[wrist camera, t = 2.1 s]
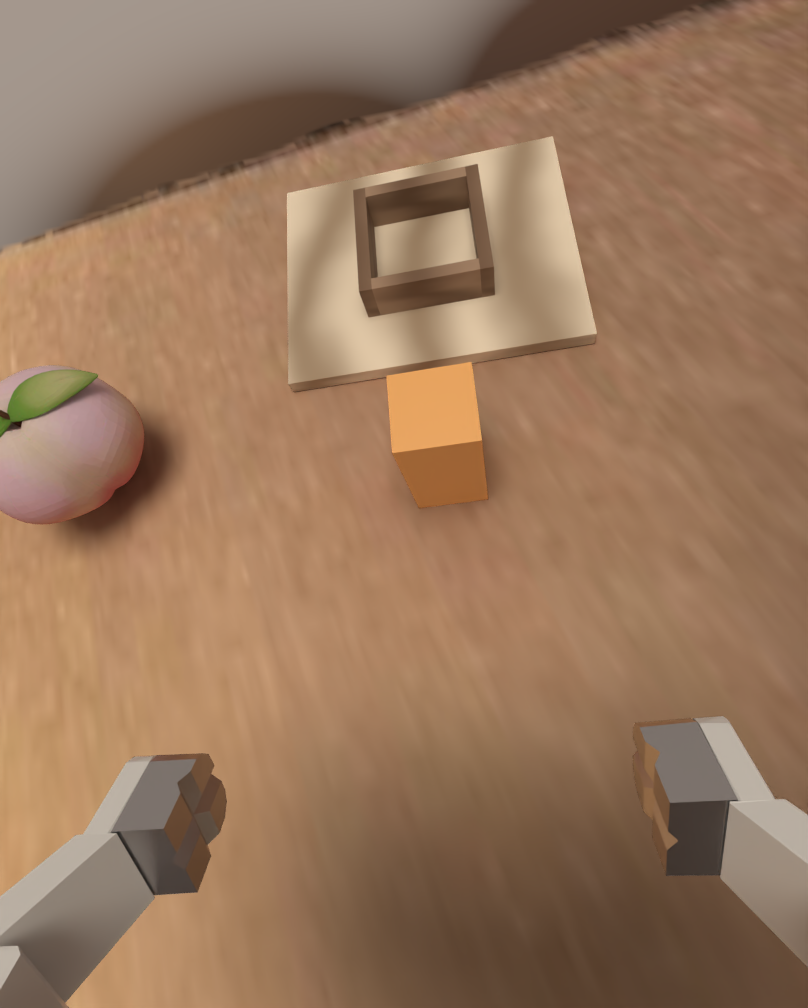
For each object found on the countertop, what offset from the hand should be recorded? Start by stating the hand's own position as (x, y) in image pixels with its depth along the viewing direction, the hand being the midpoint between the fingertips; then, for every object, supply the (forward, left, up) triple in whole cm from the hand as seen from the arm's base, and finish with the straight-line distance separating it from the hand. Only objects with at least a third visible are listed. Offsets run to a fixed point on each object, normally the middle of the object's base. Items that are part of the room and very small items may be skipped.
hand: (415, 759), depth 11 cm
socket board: (0, -29, -19) cm, 34 cm away
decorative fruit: (+22, -17, -19) cm, 33 cm away
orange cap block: (0, -14, -19) cm, 23 cm away
